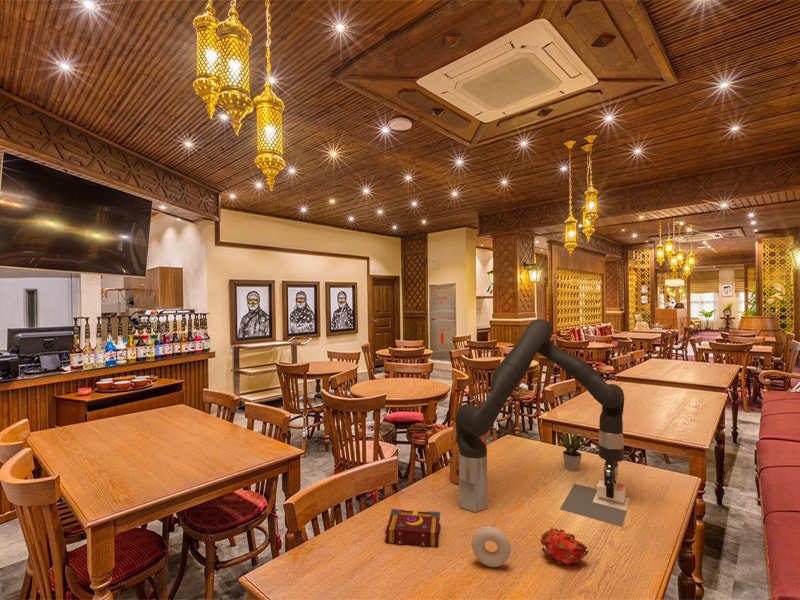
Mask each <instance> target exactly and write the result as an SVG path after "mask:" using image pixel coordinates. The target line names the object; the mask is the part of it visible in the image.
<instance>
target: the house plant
mask: <svg viewBox="0 0 800 600" xmlns="http://www.w3.org/2000/svg"><path fill="white" fill-rule="evenodd" d="M560 430H561V433H562V435H563V436H562V435H561V434H560V433H558V435H559V436H560V438H561V439H562V440H563V441H561V442H557V443H555V444H556V445H559V446H563V447H564V448H565V450H563V451H562V456H563V461H564V468H565V469H566V470H567V471H571V472H578V470H580V467H581V460H582V453H581V452H580V451H578V450H579V449H580V448H581V449H586V450H587V451H589V448H588V447H585V444H586V441H583V439H585V438H588V439H590V437H589V435H590V433H586V434H584V435H581V437H578V434H579V433H578V432H579V430H578V428H575V431H574V433H572V432H571V428H568V430H569V434H568V435H569V438H570V441H569V438H568V436H567V433H566V432H565V431H564V430H563V429H562V428H560Z"/></svg>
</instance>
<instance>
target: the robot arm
mask: <svg viewBox="0 0 800 600" xmlns="http://www.w3.org/2000/svg"><path fill="white" fill-rule="evenodd" d="M552 336H553V327H552V325H551V323H550V322H549V321H548V320H546V319H543V318H538V319H537V318H536V319H535V320H532V321H531V322H530V323H529V324H528V325H527V327H526V329H525V331H524V333H523V334H522V336H521V337H520V339H519V340H518V342H517V343H516V345H515V346H514V347H512V349H511V350H510V351H509V352H508V353H507V355H506V356H504V358H503V360H502V361H500V363H499V364H498V366H497V367H496V369H495V370H494V371H493V373H492V376H491V380H490V391H489V394H488V396H487V398H486V399H485V401H484V402H483V403H482V404H481V406H478V405H474V404H471V403H464V404H462V405H460V407H459V408H458V410H457V412H456V414H455V415H456V416H455V423H456V437H457V445H458V447H459V484H458V506H459V508H461V509H464V510H467V511H470V512H474V513H477V512H480V511H483V510H486V508H487V507H488V449H487V448H488V447H487V445H486V444H485V442H484V441H483V440H482V439H480V437H483V436H485V435H486V434H488V432H490V430H491V428H492V427H493V426H494V424H495V422H496V420H497V419H498V417H499V415H500V413H501V411H502V409H503V407H504V406H505V404H506V403H507V402H508V400H509V399H510V397H511V396H512V394H513V393H514V392H515V390H516V389H517V387H518V386H519V385H520V383H521V382H522V381H523V379H524V377H525V376H526V374H527V372H528V371H529V368H530V366H531V365H532V362H533V360H534V358H535V356H536V354H537V353H538V354H539V355H541V356H542V357H544V358H545V359H547V360H549V361H550V362H552V363H553V364H554V365H556V366H557V367H559V368H561V370H563V371H564V372H566V373H567V374H568V375H570V376H571V377H572V378H573V379H574V380H576V382H578V383H579V384H580V385H581V386H582V387H584V388H585V389H586V390H587V392H588V393H589V394H590V395H591V397H592V398H594V399H595V400H596V402H598V403H599V404H600V405H601V412H600V415H599V422H598V423H599V426H598V427H599V431H598V456H599V458H600V459H602V460H605V461H604V464H603V475H604V476H603V477H604V478H603V480H604V485H605V486H606V496H607V497H608V498H614V483H617V480H618V475H619V474H618V473H619V470H618V469H619V462H622V461H624V457H625V455H624V453H625V452H624V451H625V450H624V449H625V447H624V442H625V440H624V434H623V433H624V422H623V415H624V407H625V392H624V391H623V389H622V388H621V387H620V386H619V385H618V384H615V383H609V384H608V383H607V382H606V381H605V380H604V379H602V376H601V374H600V372H598V370H596V369H595V368H594V367H592V366H591V365H590V364H588V362H586V361H585V360H583V359H582V358H580V357H578V356H576V355H573V354H570V353H568V352H565V351H563V350H562V349H560V348H559V347H558V346H557V345H555V344H554V343H553V342H552V341H551V339H552ZM608 482H611V483H608Z"/></svg>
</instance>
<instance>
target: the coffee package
mask: <svg viewBox="0 0 800 600" xmlns="http://www.w3.org/2000/svg"><path fill="white" fill-rule="evenodd" d="M451 436H452V437H451V440H452V442H451V450H450V455H449V476H450V477H449V478H450V483H451V484H452V485H459V447H458V445H457V437H456V421H455V422H453V424H452V435H451ZM481 437H482V436H481ZM481 437H480V439H481ZM481 440H482V439H481Z"/></svg>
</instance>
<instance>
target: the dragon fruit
mask: <svg viewBox="0 0 800 600" xmlns="http://www.w3.org/2000/svg"><path fill="white" fill-rule="evenodd" d="M575 538H576V536H575V534H573V533H570V532H568V533H566V532H565V529H560V530H559V529H558V528H557V527H556V528H554V527H551V528H550V529H549V530H546V531H545V532H544V533H541V539H540V543H541V545H542V546H543V547H542V548H541V551H542V552H543V553H544V554H547V555H550V556H551V558H552V559H553V560H555V561H556V563H557V564H558V566H560V565H562V563H564V564H566V565H569V566H571V567H575V566H578V565H579V563H578V562H580V561H581V559H584V558H585V557H586V556H587V554H589V550H588V547H587V545H585V543H583V542H582V541H579V540H576V539H575ZM544 546H545V547H544Z"/></svg>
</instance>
